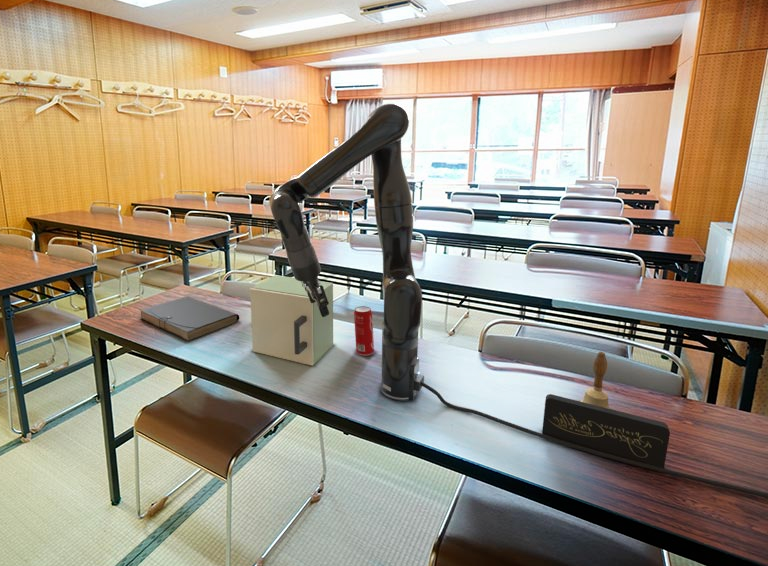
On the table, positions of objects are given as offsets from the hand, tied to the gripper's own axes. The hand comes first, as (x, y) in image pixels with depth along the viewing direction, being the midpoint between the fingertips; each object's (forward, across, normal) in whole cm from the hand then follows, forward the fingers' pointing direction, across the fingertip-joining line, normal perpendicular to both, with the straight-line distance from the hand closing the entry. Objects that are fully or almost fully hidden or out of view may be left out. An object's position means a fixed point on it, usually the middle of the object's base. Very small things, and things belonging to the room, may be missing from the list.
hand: (319, 308), depth 120 cm
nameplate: (+29, -51, -37) cm, 70 cm away
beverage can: (+28, +7, -10) cm, 30 cm away
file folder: (+16, +55, +40) cm, 70 cm away
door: (+18, +10, +16) cm, 27 cm away
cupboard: (+22, +18, +9) cm, 30 cm away
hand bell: (+34, -41, -48) cm, 72 cm away
